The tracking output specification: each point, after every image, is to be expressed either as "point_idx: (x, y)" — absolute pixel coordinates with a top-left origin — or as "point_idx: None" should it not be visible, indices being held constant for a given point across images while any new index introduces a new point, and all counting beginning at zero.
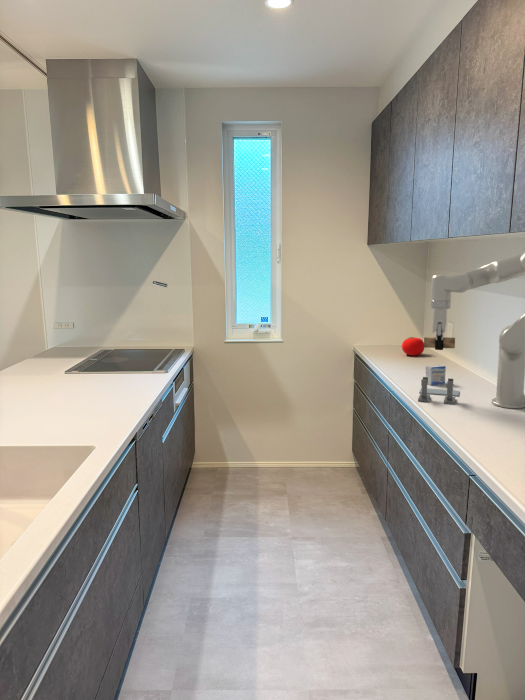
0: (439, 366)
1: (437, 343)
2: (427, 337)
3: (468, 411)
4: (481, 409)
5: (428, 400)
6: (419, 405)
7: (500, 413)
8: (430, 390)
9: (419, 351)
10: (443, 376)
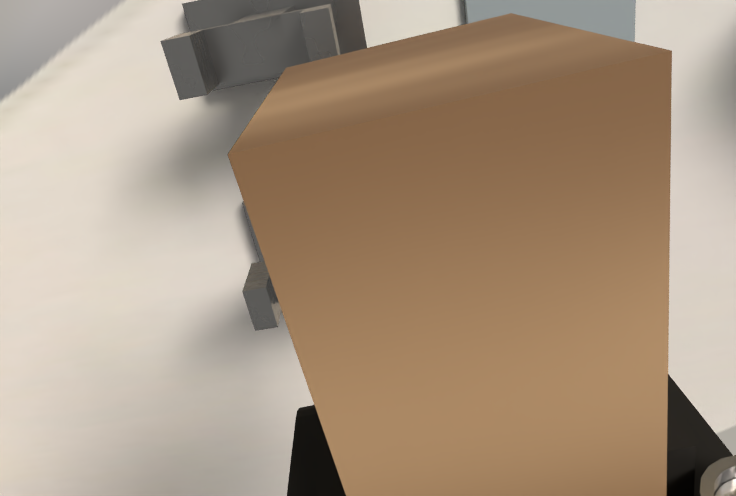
0: None
1: (293, 491)
2: (511, 256)
3: (165, 355)
4: (250, 399)
5: (234, 84)
6: (85, 51)
7: (232, 475)
8: (565, 3)
9: None
10: None
